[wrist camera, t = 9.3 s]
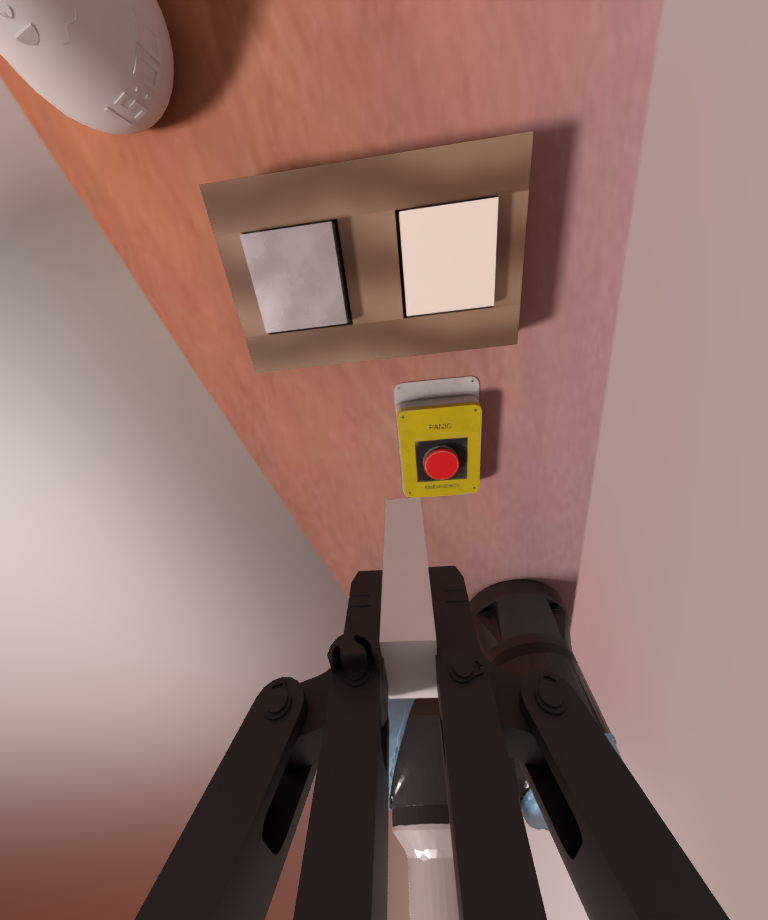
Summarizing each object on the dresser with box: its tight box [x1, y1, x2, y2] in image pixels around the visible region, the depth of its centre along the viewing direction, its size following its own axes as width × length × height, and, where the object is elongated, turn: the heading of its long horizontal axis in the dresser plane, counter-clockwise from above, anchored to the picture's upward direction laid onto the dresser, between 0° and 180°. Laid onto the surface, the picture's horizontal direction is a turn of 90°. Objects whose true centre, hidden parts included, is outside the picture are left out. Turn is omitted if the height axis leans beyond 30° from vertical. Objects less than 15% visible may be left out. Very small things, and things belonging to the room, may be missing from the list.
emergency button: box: [394, 376, 482, 498], centre depth 38 cm, size 9×4×15 cm
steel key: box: [240, 222, 352, 333], centre depth 28 cm, size 7×7×3 cm
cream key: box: [399, 197, 498, 316], centre depth 27 cm, size 7×7×3 cm
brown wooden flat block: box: [199, 131, 533, 373], centre depth 29 cm, size 14×24×4 cm, turn 97°
